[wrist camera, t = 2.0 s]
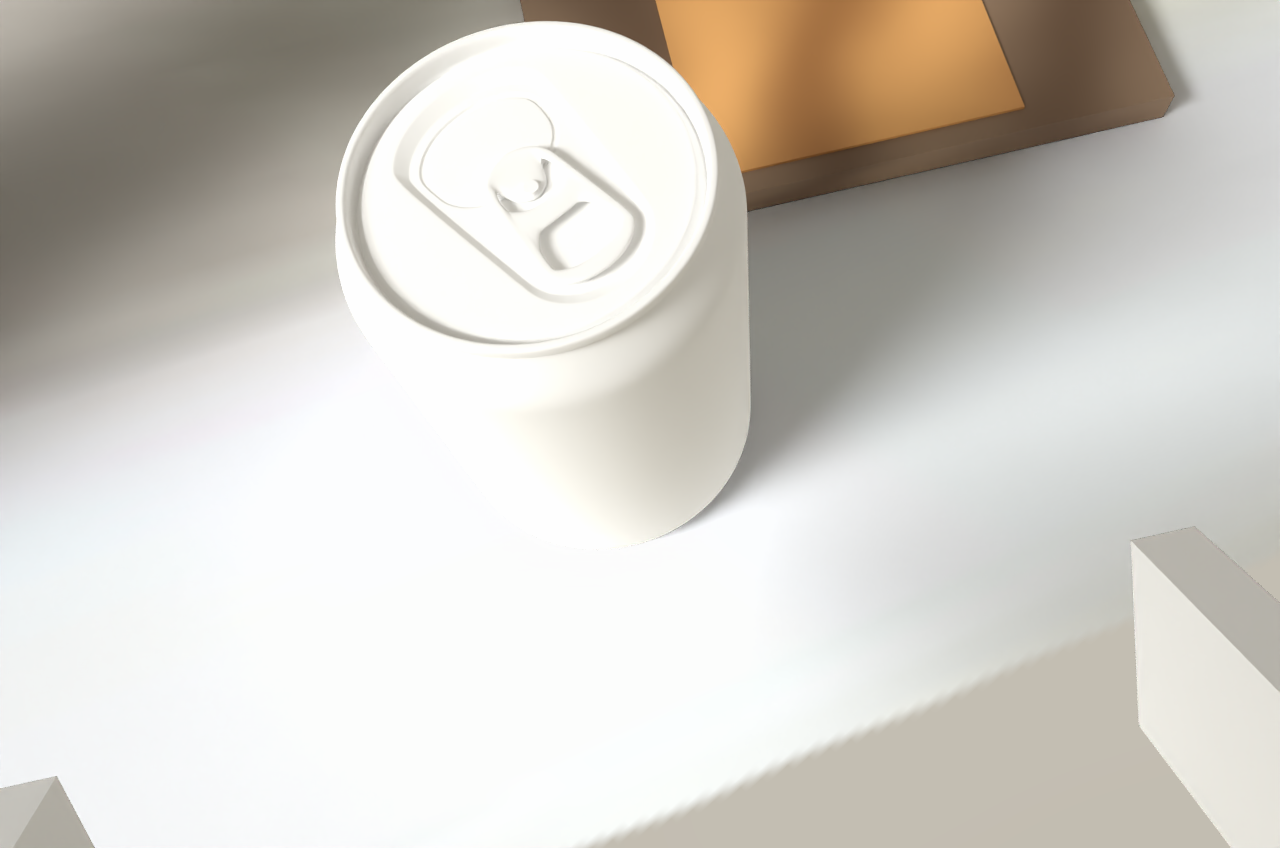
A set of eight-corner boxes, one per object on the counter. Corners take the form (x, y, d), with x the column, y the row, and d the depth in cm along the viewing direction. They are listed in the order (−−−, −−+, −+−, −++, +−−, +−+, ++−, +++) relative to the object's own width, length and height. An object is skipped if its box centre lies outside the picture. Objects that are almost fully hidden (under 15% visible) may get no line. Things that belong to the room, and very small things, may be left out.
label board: (573, 250, 34) (567, 232, 33) (516, -26, 38) (509, -51, 37) (1162, 116, 33) (1175, 93, 32) (1041, -149, 37) (1048, -177, 36)
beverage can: (624, 239, 34) (557, -68, 23) (812, 425, 31) (841, 180, 20) (410, 408, 32) (227, 171, 21) (587, 618, 30) (483, 472, 18)
